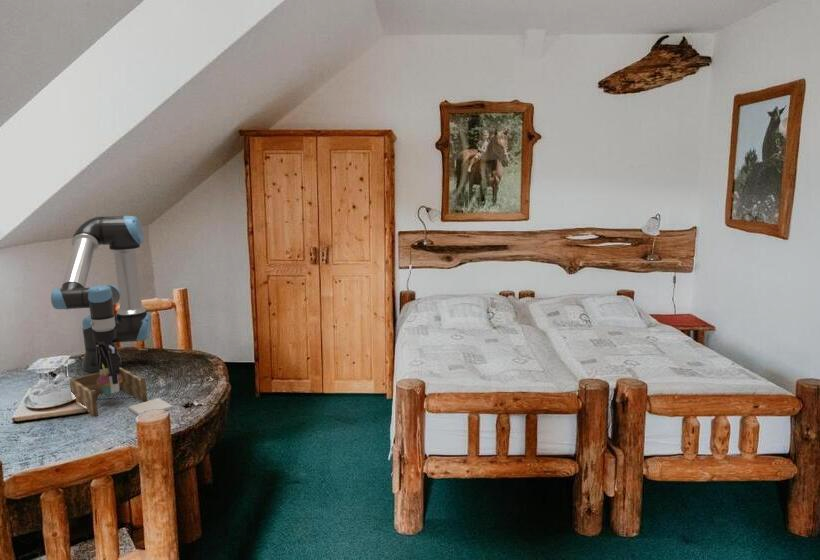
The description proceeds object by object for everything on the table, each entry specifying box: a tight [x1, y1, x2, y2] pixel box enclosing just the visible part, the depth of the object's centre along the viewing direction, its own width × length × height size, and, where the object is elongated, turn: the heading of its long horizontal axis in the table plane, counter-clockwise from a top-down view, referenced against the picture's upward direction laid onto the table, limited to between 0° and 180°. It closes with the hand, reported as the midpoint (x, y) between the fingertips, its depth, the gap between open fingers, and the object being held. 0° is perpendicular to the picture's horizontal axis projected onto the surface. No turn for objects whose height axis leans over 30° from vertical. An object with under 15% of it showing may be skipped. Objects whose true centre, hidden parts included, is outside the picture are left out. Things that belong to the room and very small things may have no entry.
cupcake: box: [97, 363, 123, 396], centre depth 221 cm, size 9×8×12 cm
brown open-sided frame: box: [69, 366, 148, 418], centre depth 223 cm, size 22×18×9 cm
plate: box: [128, 397, 174, 416], centre depth 216 cm, size 11×11×1 cm
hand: (110, 388), depth 222 cm, fingers closed on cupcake, 8 cm apart
